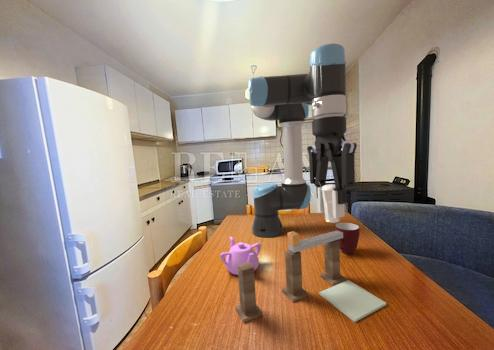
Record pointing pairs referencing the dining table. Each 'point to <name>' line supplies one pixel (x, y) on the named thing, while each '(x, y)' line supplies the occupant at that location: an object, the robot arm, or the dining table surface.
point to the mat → (352, 300)
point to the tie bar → (310, 240)
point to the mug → (348, 237)
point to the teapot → (240, 256)
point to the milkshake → (328, 202)
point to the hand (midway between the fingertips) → (330, 214)
